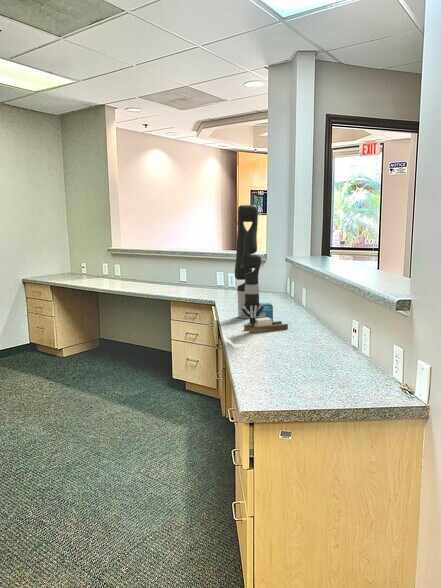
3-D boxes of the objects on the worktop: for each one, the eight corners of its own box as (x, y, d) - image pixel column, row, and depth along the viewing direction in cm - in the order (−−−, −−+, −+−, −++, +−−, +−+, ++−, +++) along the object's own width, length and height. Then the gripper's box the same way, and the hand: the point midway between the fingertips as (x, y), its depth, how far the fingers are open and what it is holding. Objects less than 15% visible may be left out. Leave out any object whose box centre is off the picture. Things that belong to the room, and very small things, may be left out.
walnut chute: (243, 331, 231) (243, 324, 231) (280, 327, 238) (280, 320, 238) (250, 336, 222) (250, 328, 221) (288, 331, 229) (288, 324, 228)
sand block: (254, 329, 230) (254, 318, 230) (267, 328, 233) (267, 317, 232) (258, 331, 226) (257, 320, 225) (271, 329, 228) (271, 319, 227)
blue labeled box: (252, 325, 247) (252, 304, 245) (252, 323, 251) (251, 303, 249) (273, 324, 246) (272, 304, 245) (272, 322, 251) (272, 302, 249)
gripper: (260, 290, 230) (261, 321, 233) (237, 292, 226) (238, 324, 229) (266, 292, 223) (266, 324, 225) (242, 294, 219) (243, 327, 222)
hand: (252, 324), depth 227 cm, fingers closed
